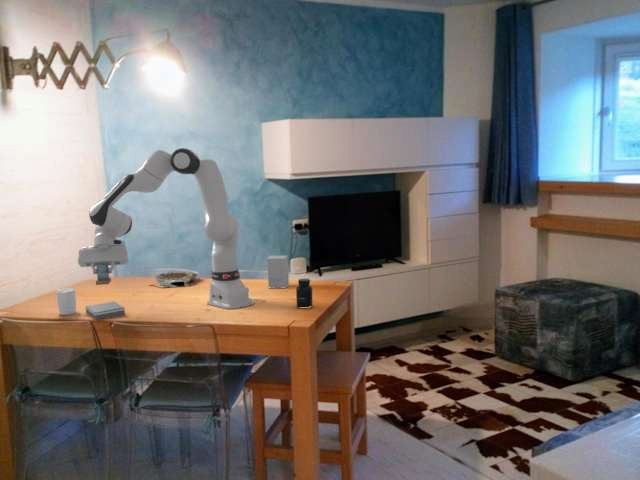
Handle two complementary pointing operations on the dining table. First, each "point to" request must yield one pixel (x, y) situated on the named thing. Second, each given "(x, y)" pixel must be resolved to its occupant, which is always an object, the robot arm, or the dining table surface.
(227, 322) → the dining table surface
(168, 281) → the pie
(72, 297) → the white cup
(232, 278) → the robot arm
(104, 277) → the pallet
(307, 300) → the supplement bottle
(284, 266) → the supplement box
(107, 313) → the dock
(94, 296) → the dining table surface
